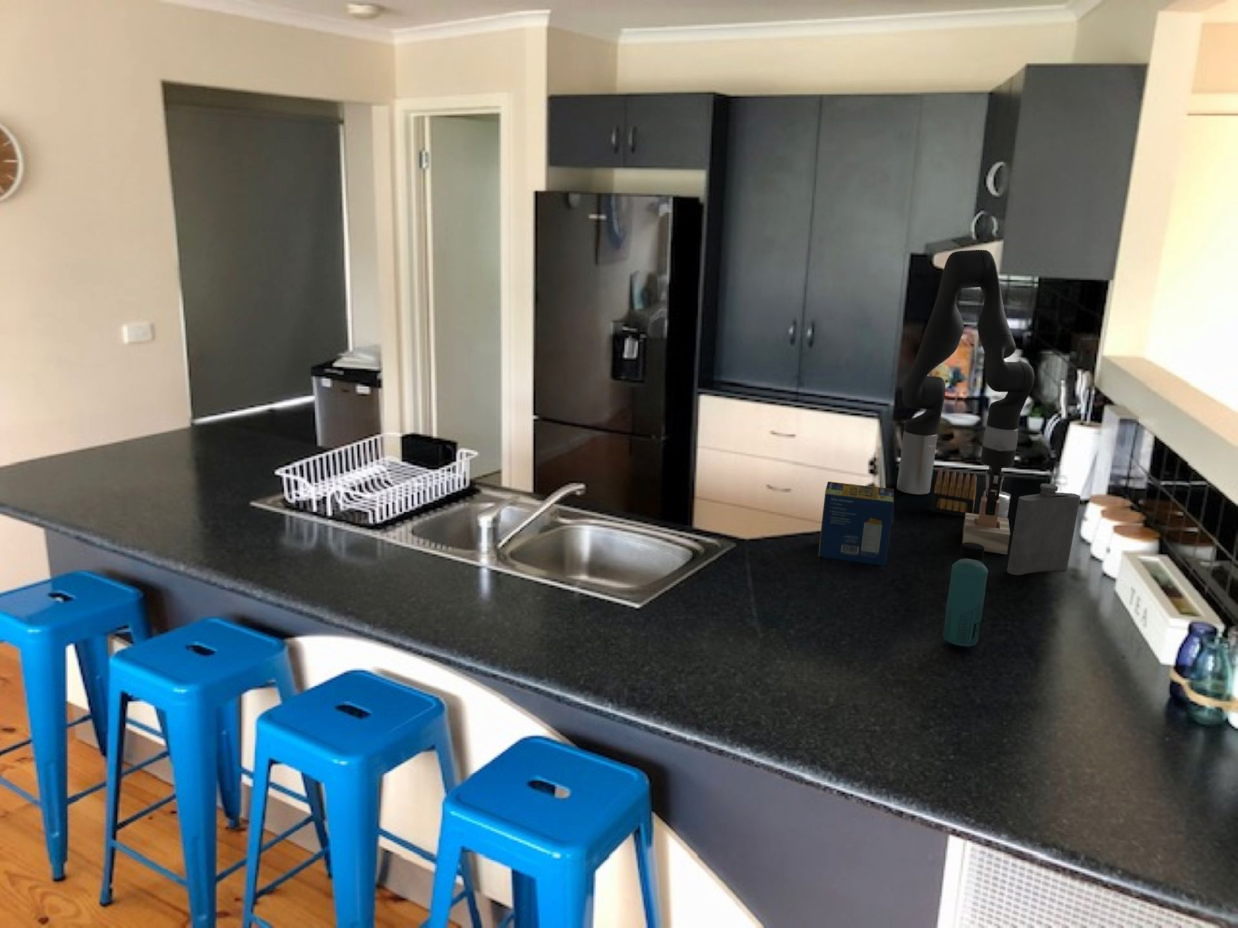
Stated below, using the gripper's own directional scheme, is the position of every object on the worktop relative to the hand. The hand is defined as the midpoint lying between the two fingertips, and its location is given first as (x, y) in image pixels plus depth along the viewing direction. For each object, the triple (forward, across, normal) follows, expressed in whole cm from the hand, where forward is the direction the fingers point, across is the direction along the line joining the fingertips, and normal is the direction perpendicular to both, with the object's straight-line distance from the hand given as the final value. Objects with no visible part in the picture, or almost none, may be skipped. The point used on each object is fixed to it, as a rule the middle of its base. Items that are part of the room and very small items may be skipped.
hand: (989, 509), depth 231 cm
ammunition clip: (+9, -21, -8) cm, 24 cm away
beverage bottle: (+8, +64, -5) cm, 65 cm away
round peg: (+9, -14, +2) cm, 16 cm away
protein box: (+9, +23, -29) cm, 38 cm away
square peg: (+8, 0, 0) cm, 8 cm away
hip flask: (+9, +14, +11) cm, 20 cm away
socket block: (+8, 0, 0) cm, 9 cm away
